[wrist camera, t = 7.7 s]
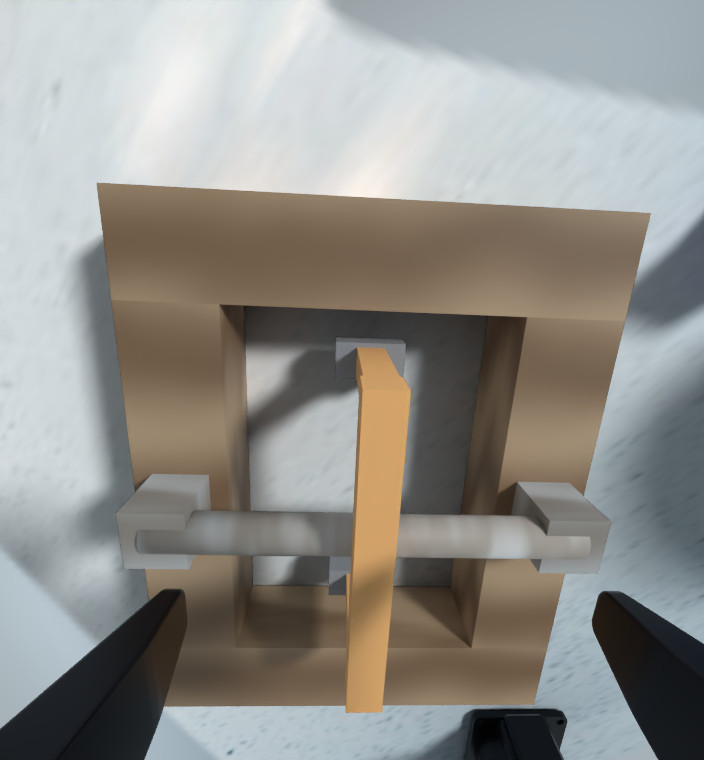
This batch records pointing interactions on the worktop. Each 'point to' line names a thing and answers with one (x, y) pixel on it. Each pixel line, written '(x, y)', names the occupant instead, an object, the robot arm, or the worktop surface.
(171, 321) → the wooden picture frame
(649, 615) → the robot arm
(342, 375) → the orange staple arch
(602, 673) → the worktop surface
